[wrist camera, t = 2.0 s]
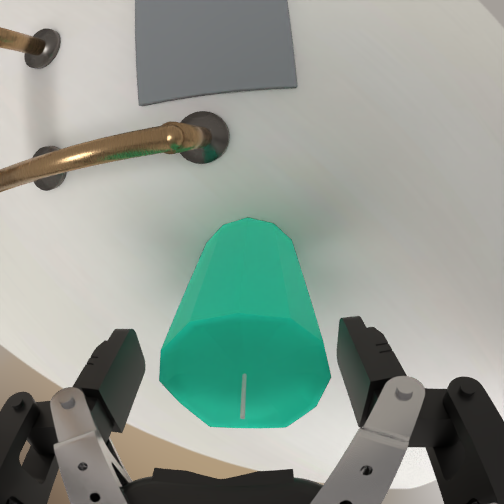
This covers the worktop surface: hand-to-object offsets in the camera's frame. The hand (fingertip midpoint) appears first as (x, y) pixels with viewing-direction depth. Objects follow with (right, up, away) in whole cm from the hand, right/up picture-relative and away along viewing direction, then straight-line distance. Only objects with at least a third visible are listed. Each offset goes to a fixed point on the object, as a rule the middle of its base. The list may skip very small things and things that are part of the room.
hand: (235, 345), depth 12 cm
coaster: (-2, +17, +3) cm, 17 cm away
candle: (+1, +3, +8) cm, 9 cm away
